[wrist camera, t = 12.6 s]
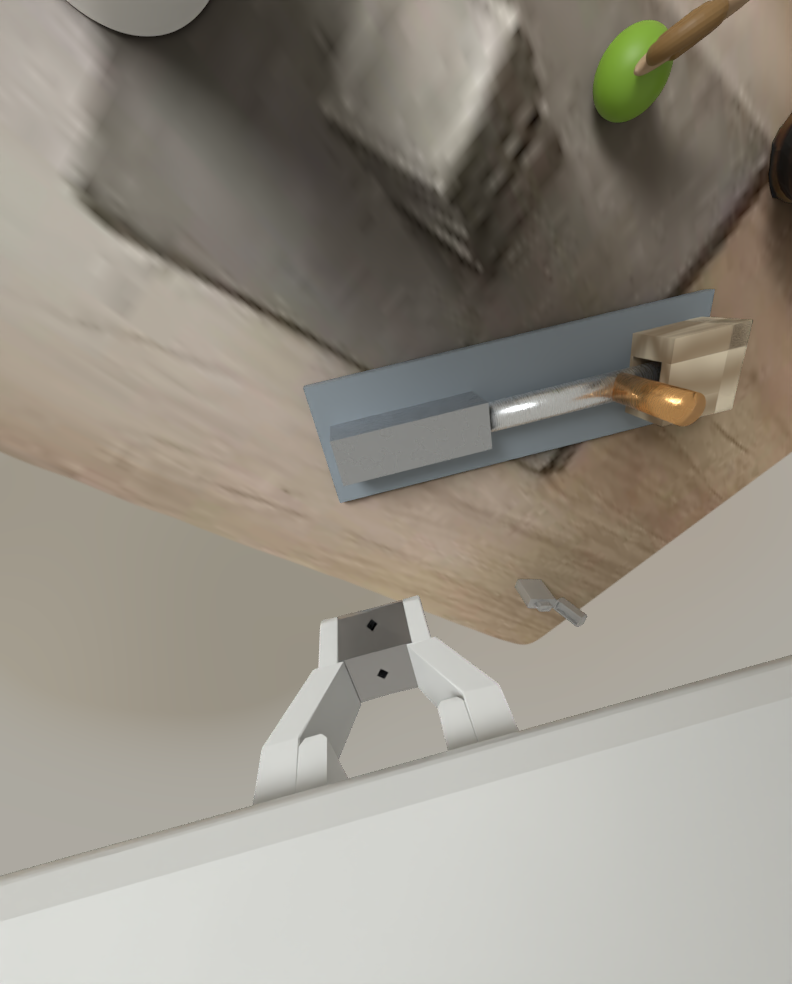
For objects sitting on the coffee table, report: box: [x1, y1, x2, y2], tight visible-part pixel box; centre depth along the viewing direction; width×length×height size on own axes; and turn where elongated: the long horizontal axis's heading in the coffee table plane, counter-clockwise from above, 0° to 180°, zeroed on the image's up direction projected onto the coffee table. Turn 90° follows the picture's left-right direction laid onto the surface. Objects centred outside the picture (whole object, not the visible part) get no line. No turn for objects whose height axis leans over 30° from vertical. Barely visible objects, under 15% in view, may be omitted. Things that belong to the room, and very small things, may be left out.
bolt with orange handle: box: [488, 361, 706, 432], centre depth 37 cm, size 3×24×11 cm, turn 102°
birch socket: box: [625, 317, 753, 427], centre depth 41 cm, size 9×8×6 cm
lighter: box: [515, 579, 587, 627], centre depth 55 cm, size 7×2×8 cm, turn 82°
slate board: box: [303, 289, 715, 503], centre depth 43 cm, size 14×45×1 cm, turn 102°
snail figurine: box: [593, 0, 749, 123], centre depth 27 cm, size 5×6×12 cm
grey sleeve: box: [330, 391, 492, 486], centre depth 40 cm, size 5×16×5 cm, turn 102°
